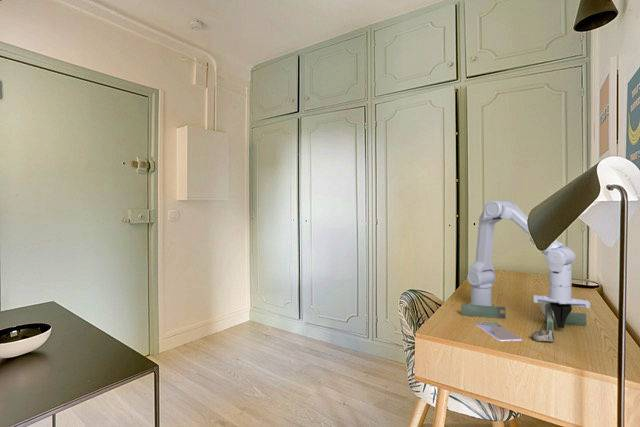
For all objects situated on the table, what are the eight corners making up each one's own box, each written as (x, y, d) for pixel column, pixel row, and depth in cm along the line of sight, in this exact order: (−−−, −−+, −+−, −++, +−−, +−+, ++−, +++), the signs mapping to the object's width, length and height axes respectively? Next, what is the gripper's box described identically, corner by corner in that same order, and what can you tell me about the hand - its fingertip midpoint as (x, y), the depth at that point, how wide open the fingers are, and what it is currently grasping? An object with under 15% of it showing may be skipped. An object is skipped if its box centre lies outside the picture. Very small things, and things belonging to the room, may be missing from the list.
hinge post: (543, 321, 113) (543, 302, 113) (583, 324, 110) (583, 304, 110) (546, 323, 111) (546, 304, 111) (587, 326, 107) (587, 306, 107)
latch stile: (461, 314, 121) (461, 303, 121) (504, 317, 117) (504, 306, 117) (461, 315, 120) (461, 305, 120) (505, 318, 116) (505, 307, 116)
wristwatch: (544, 337, 100) (560, 341, 95) (529, 341, 98) (545, 346, 94) (542, 325, 100) (558, 329, 96) (527, 330, 99) (542, 333, 94)
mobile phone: (499, 339, 97) (474, 321, 112) (499, 342, 97) (474, 324, 112) (524, 338, 97) (495, 321, 112) (524, 342, 97) (495, 324, 112)
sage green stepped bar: (546, 322, 111) (546, 309, 111) (551, 323, 110) (551, 310, 110) (547, 334, 100) (546, 320, 100) (553, 335, 99) (553, 321, 99)
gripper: (534, 285, 103) (534, 327, 103) (592, 290, 96) (592, 335, 96) (532, 280, 109) (532, 320, 109) (586, 285, 102) (586, 327, 103)
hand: (560, 326), depth 103 cm, fingers closed
